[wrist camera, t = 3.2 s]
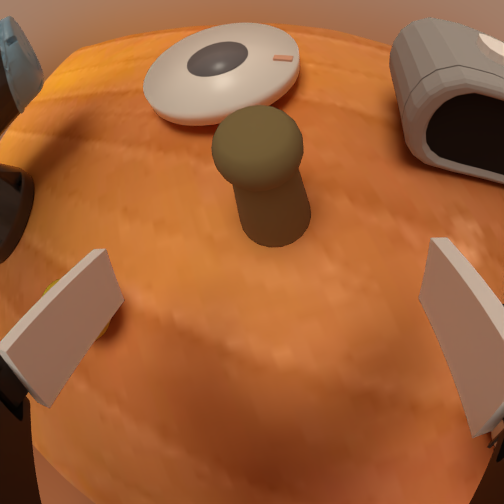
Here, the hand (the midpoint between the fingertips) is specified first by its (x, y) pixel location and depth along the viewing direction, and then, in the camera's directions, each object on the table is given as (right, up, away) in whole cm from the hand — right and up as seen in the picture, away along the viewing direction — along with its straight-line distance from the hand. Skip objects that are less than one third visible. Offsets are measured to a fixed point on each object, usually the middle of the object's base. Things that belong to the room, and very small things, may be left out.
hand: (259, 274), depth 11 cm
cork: (+2, +4, +14) cm, 15 cm away
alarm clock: (+23, +12, +12) cm, 29 cm away
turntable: (-4, +22, +18) cm, 29 cm away
